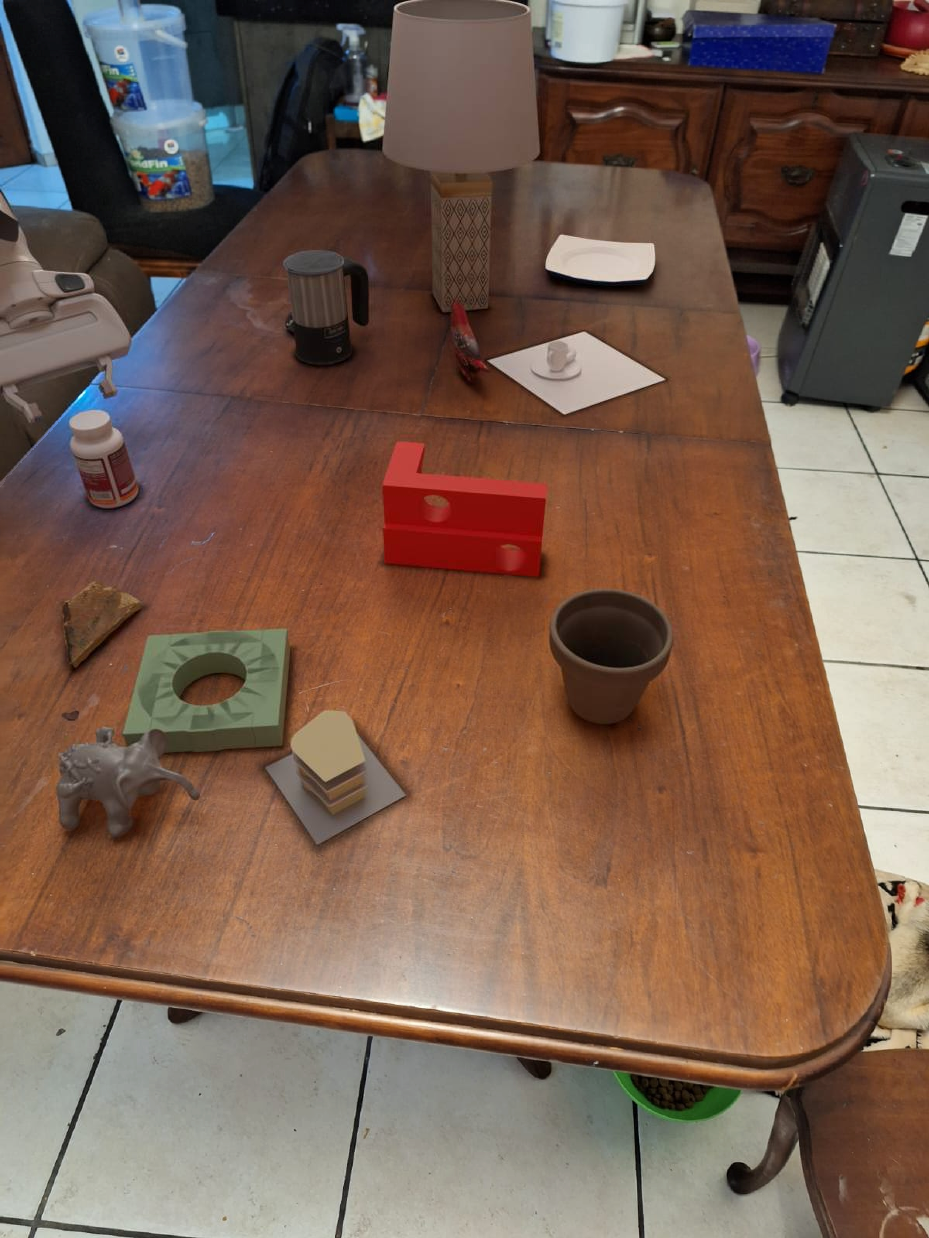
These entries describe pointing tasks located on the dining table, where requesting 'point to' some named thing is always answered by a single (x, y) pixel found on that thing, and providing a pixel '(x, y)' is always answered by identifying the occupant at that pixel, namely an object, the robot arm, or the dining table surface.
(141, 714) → the socket pad
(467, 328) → the decorative bird figurine
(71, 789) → the gray elephant figurine
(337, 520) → the dining table surface
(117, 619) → the shard
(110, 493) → the pill bottle
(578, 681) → the flower pot
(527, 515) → the bracket
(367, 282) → the milk frother
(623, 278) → the plate
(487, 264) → the lamp
